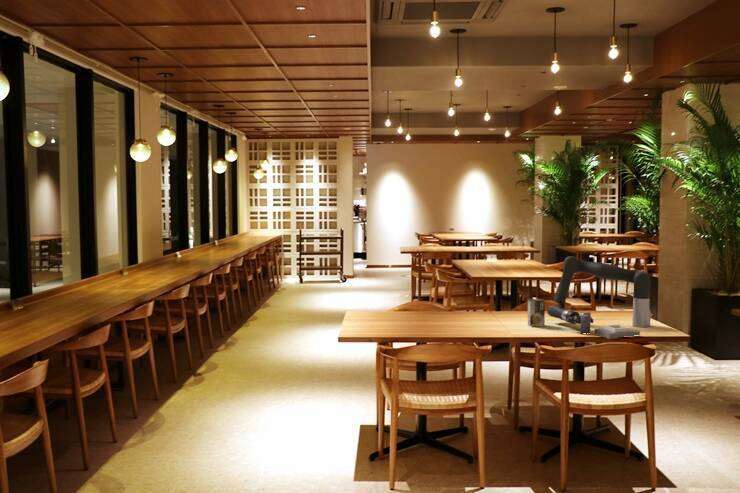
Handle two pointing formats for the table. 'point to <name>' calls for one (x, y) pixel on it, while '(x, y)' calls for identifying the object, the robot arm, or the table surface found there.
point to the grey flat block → (615, 331)
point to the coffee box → (536, 312)
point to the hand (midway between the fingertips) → (586, 321)
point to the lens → (585, 322)
